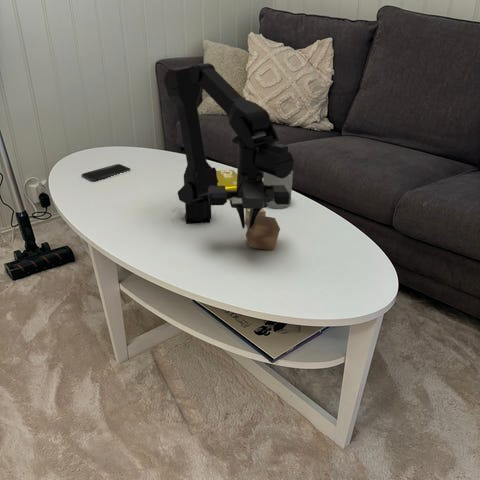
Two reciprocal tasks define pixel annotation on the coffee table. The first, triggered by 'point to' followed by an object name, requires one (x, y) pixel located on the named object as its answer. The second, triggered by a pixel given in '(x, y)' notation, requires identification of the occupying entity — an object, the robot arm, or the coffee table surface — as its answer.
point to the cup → (274, 180)
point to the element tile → (227, 179)
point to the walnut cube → (263, 233)
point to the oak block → (247, 212)
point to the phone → (105, 172)
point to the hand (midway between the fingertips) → (246, 227)
